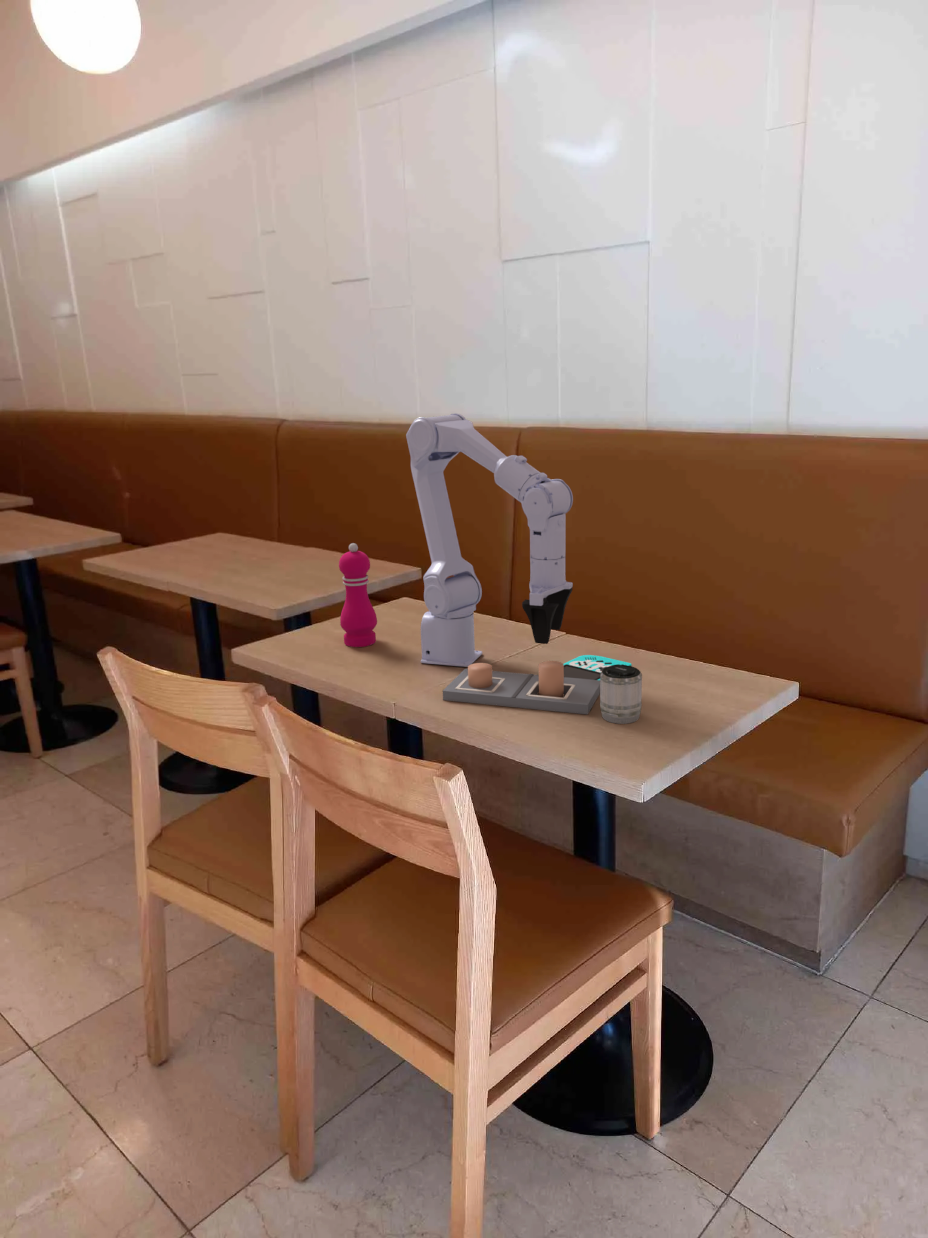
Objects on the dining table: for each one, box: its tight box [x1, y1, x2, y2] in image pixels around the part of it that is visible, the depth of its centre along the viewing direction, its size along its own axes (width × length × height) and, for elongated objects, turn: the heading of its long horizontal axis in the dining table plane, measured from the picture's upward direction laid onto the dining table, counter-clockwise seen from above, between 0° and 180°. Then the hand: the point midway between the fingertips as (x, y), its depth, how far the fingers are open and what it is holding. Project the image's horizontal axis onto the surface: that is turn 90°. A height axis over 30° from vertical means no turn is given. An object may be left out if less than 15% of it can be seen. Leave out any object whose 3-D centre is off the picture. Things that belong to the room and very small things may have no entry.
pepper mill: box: [338, 542, 378, 648], centre depth 176 cm, size 7×7×20 cm
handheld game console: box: [563, 654, 633, 680], centre depth 157 cm, size 10×16×1 cm, turn 138°
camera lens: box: [599, 664, 643, 725], centre depth 138 cm, size 6×6×8 cm
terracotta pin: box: [538, 660, 565, 698], centre depth 145 cm, size 4×4×6 cm
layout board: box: [442, 662, 600, 715], centre depth 148 cm, size 24×11×5 cm, turn 70°
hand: (548, 635), depth 151 cm, fingers open, 7 cm apart
